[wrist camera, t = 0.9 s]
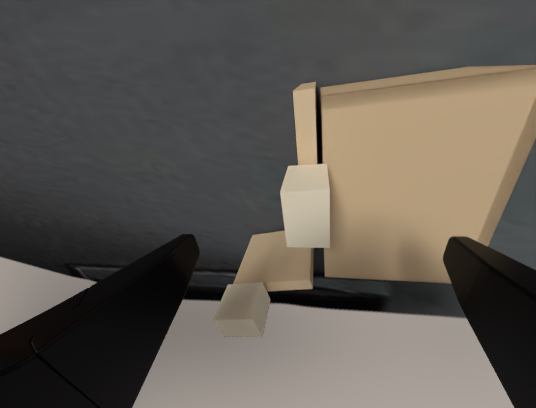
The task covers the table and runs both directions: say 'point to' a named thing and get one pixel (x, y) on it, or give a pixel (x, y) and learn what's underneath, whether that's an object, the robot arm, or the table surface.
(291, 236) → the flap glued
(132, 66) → the table surface
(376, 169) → the carton
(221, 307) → the flap open
